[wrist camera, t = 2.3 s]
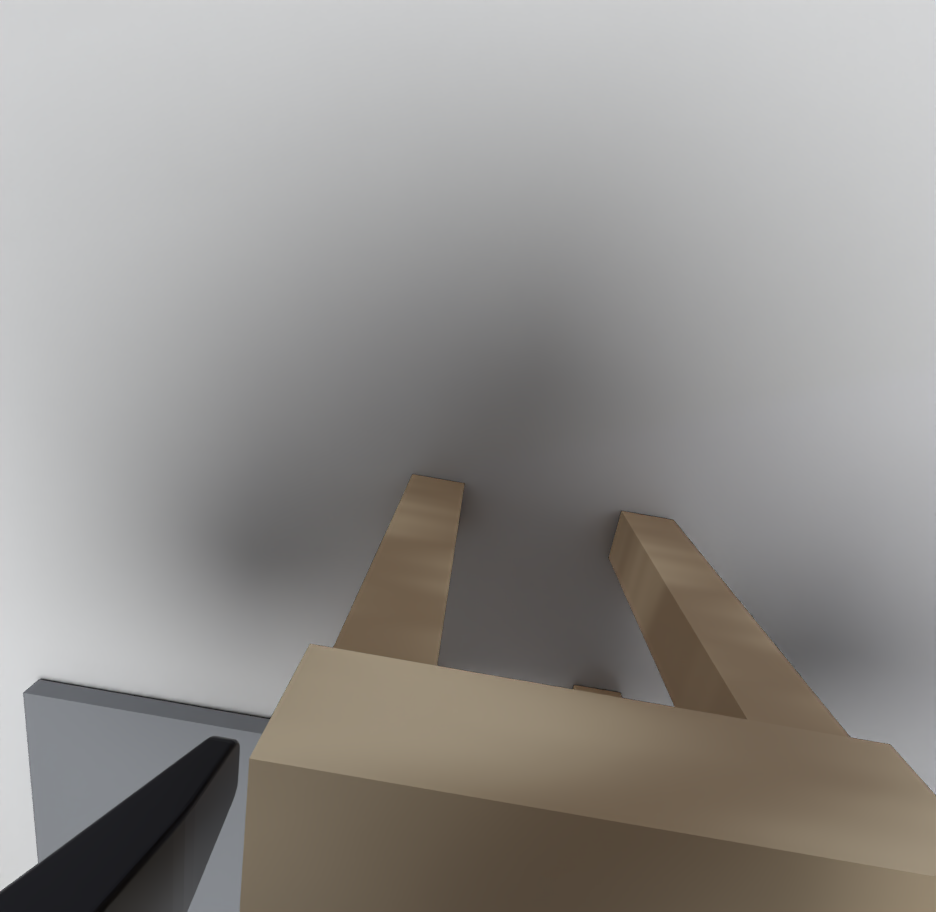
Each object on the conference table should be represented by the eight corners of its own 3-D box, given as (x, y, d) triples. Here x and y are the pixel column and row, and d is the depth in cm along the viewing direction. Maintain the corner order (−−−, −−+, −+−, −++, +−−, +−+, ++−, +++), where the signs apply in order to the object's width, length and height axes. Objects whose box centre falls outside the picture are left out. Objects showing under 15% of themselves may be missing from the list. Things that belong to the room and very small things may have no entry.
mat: (447, 749, 14) (446, 765, 14) (394, 1014, 17) (391, 1035, 17) (39, 679, 14) (23, 692, 14) (60, 958, 17) (48, 977, 17)
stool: (684, 513, 12) (1021, 890, 4) (615, 738, 14) (765, 1282, 6) (404, 464, 12) (249, 758, 4) (371, 695, 14) (222, 1190, 6)
